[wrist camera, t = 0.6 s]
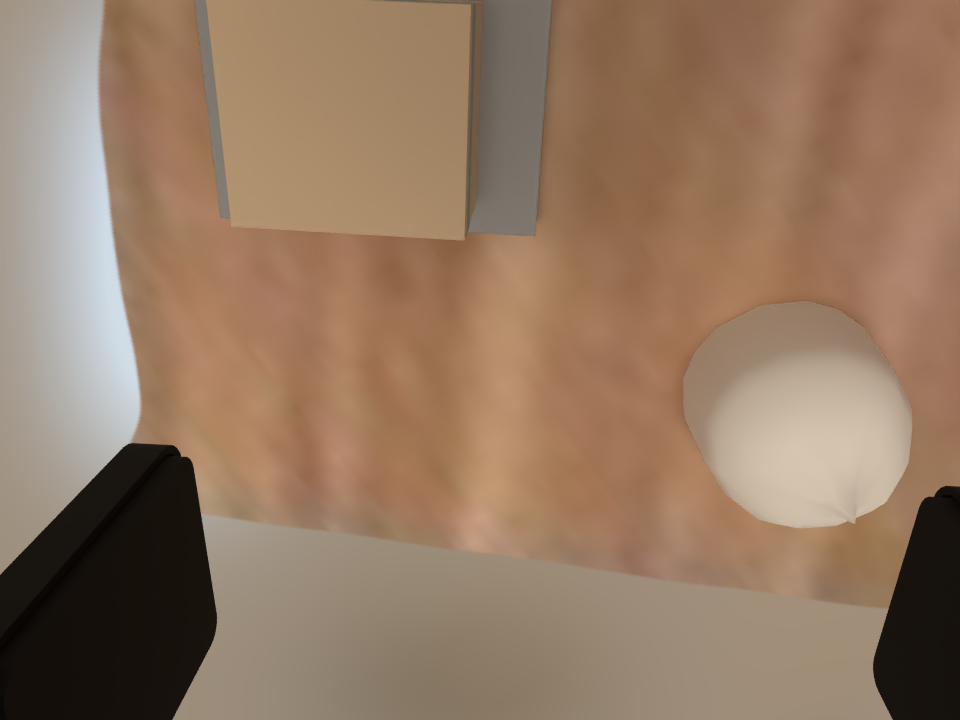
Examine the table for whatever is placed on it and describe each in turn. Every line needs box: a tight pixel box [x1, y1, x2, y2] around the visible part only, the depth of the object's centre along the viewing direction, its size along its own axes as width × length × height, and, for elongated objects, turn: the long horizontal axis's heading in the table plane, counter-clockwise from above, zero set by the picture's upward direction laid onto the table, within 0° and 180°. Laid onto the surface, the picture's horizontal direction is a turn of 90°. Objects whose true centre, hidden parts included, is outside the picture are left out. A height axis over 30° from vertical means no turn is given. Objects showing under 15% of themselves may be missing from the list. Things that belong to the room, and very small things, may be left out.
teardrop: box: [683, 301, 912, 528], centre depth 38 cm, size 11×11×12 cm
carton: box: [206, 0, 483, 240], centre depth 33 cm, size 9×10×6 cm
